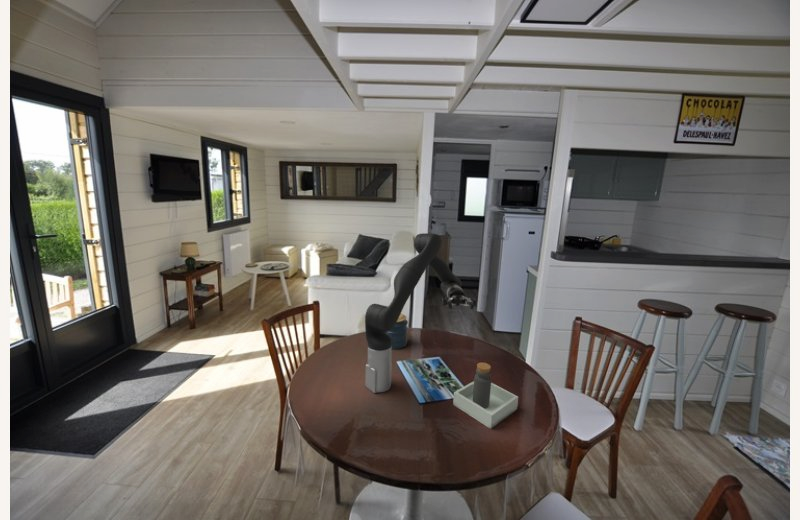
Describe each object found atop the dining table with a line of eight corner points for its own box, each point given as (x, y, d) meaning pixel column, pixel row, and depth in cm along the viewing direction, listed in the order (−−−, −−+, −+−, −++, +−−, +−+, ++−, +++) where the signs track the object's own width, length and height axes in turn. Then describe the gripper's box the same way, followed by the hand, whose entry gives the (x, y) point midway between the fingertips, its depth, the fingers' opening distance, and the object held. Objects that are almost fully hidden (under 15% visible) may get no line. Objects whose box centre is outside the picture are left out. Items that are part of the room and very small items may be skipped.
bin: (490, 429, 107) (491, 415, 106) (453, 404, 119) (453, 392, 118) (517, 409, 118) (518, 396, 117) (480, 388, 130) (481, 377, 129)
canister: (383, 337, 173) (384, 305, 170) (408, 338, 172) (409, 306, 169) (379, 348, 161) (380, 314, 157) (406, 350, 159) (407, 316, 156)
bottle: (489, 410, 115) (493, 371, 112) (472, 407, 116) (475, 368, 113) (488, 400, 121) (492, 362, 118) (472, 397, 122) (475, 360, 119)
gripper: (440, 286, 151) (444, 297, 135) (471, 287, 150) (479, 298, 135) (439, 302, 152) (443, 314, 136) (470, 303, 152) (478, 316, 136)
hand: (461, 306), depth 135 cm, fingers open, 8 cm apart
